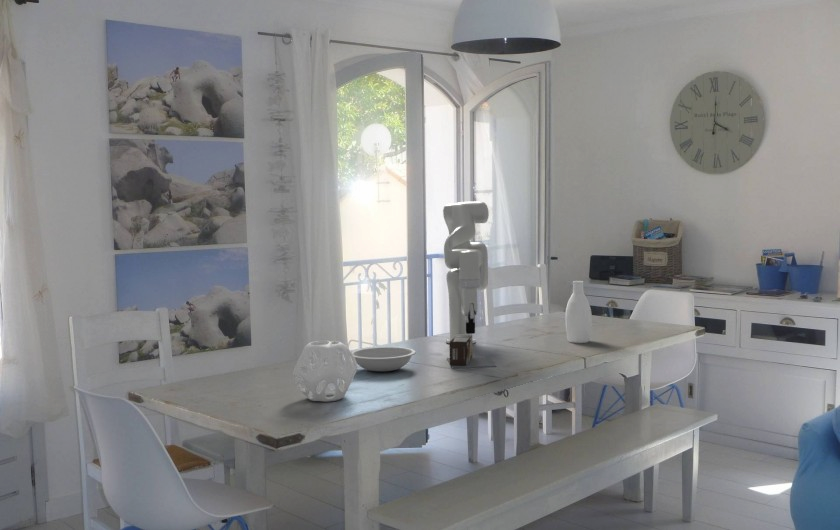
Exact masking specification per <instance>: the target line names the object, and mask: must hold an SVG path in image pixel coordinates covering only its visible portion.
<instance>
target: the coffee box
mask: <svg viewBox="0 0 840 530" xmlns="http://www.w3.org/2000/svg"><path fill="white" fill-rule="evenodd" d="M472 338H473V334H457V335H456V336H455V337H454V338H453V339H452V340H451V341H450V344H449V358H450V364H449V366H450V367H451V366H466V365H467V364H468V362H469V361H470V360H471V358H472V357H473V355H474V354H473V353H474V352H473V351H474V349H473V346H474V345H473V343H472Z"/></svg>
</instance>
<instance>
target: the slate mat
mask: <svg viewBox="0 0 840 530" xmlns="http://www.w3.org/2000/svg"><path fill="white" fill-rule="evenodd" d="M446 360H447V362H448V363H449V365H450V357H447V358H446ZM450 367H451V369H471V368H474V369H476V368H496V367H497V365H496V364H495V362H494V361H493V360H492V359H491V358H490V356H479V357H478V356H472V358H471V360H470V361H469V362H468V364H467V365H466V366H451V365H450Z"/></svg>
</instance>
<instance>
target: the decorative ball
mask: <svg viewBox="0 0 840 530" xmlns="http://www.w3.org/2000/svg"><path fill="white" fill-rule="evenodd" d="M339 350H340V351H339ZM316 352H319V353H320V357H319V358H320V359H319V358H318V357H317V354H316ZM312 358H313V363H312ZM326 360H327V362H326ZM303 368H307V372H304V371H303ZM357 371H358V364H357V362H356V360H355V358H354V356H353V354H352V351H351V350H350V348H349V347H348V346H347V345H346V344H345V343H343V342H341V341H338V340H332V341H330V340H315V341H311V342H309V343H307V344H306V345H305V346H304V347H303V350H302V353H301V354H300V356H299V358H298V360H297V362H296V364H295V366H294V369H293V371H292V377H293V380H294V382H295V385H296V386H297V388H298V390H299V391H300V392H301V393H302V394H303V395H304V396H305V397H306V398H307V399H308V400H310V401H312V402H325V403H326V402H330V403H331V402H336V401H339V400H342V399H343V398H344V397H345V396H346V394H347V392H348V390H349V389H350V386H351V383H352V381H353V379H354V377H355V375H356V373H357ZM323 380H325V381H323ZM302 384H303V385H304V386H305V387H303V386H302ZM330 384H333V385H334V388H335V389H332V388H331V387H330ZM328 396H330V397H328Z"/></svg>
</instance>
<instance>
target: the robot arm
mask: <svg viewBox="0 0 840 530" xmlns="http://www.w3.org/2000/svg"><path fill="white" fill-rule="evenodd" d="M442 213H443V214H442V216H443V219H444V222H445V224H446V227H447V229H448V234H449V235H448V236H447V238H446V239H445V241H444V244H443V257H444V258H443V259H444V264H445V266H446V267H447V268H448V269H450V270H449V271H447V273H446V284H447V290H448V291H447V292H448V308H449V309H448V313H449V338H447V339H446V340H445V343H446V344H449V345H450V341H451V340H452V339H453V338H454V337H455V336H456V335H457V334H472V335H473V334H476V322H475V320H476V319H475V317H476V316H477V315H478V291H483V290H486V289H487V288H488V284H489V254H488V248H487V245H486V244H485V243H483V242H479V241H478V242H477V241H475V242H473V241H470V240H472V239H473V238H474V237H475V235H476V224H486V223H487V222H488V220H489V217H490V215H489V207H488V205H487V204H486V203H485V202H484V201H461V202H455V203H453V202H452V203H448V204H445V205H444V206H443V209H442ZM476 342H477V340H476V338H473V337H472V344H475V343H476Z"/></svg>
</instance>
